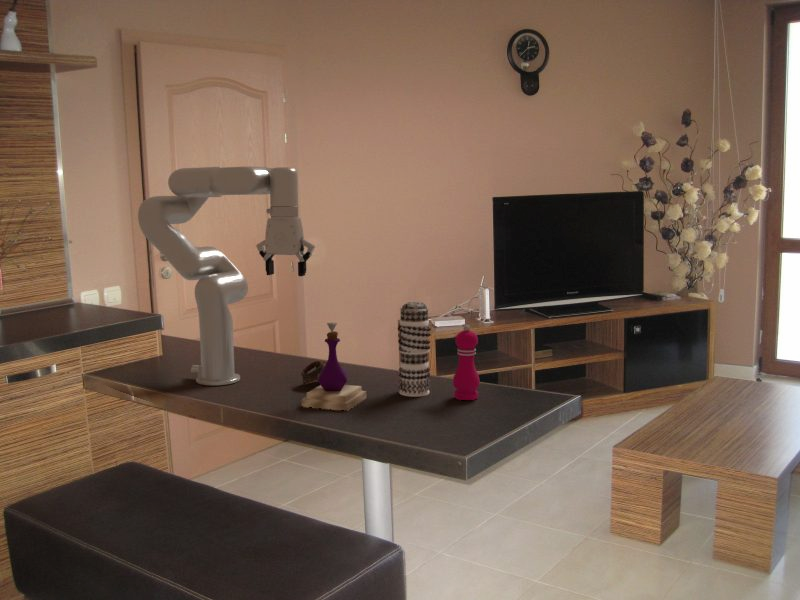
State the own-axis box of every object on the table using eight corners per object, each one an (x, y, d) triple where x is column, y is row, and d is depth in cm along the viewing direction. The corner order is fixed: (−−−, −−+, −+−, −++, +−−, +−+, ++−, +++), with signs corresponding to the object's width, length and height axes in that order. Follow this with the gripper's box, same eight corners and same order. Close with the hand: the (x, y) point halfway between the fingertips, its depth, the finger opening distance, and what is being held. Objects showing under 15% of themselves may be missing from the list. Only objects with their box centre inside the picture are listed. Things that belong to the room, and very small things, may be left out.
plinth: (301, 406, 201) (301, 393, 201) (322, 394, 214) (322, 381, 213) (348, 411, 197) (347, 397, 197) (366, 398, 210) (366, 385, 209)
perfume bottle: (319, 386, 209) (318, 320, 206) (347, 385, 209) (346, 319, 207) (318, 393, 201) (317, 324, 199) (347, 392, 202) (346, 324, 199)
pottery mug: (338, 391, 219) (324, 367, 217) (309, 404, 221) (295, 381, 218) (342, 370, 230) (328, 348, 228) (315, 383, 232) (301, 361, 230)
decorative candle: (392, 395, 212) (392, 304, 209) (404, 387, 221) (404, 300, 217) (424, 398, 209) (424, 306, 206) (435, 390, 218) (435, 301, 214)
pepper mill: (482, 395, 212) (483, 323, 209) (476, 402, 205) (476, 327, 202) (456, 393, 214) (457, 322, 211) (449, 400, 207) (450, 326, 204)
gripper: (249, 213, 212) (251, 275, 214) (307, 213, 206) (308, 277, 209) (262, 212, 219) (264, 273, 221) (319, 212, 213) (320, 274, 216)
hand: (285, 275), depth 215 cm, fingers open, 9 cm apart
